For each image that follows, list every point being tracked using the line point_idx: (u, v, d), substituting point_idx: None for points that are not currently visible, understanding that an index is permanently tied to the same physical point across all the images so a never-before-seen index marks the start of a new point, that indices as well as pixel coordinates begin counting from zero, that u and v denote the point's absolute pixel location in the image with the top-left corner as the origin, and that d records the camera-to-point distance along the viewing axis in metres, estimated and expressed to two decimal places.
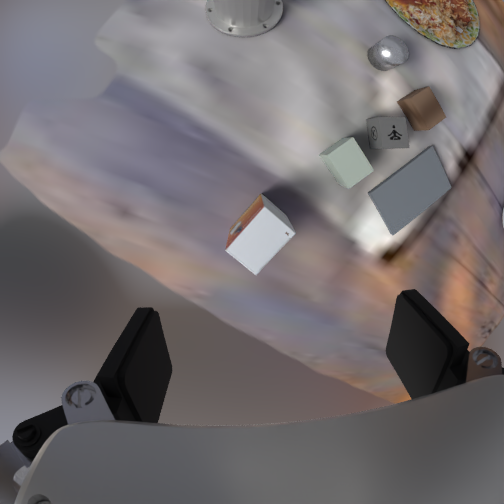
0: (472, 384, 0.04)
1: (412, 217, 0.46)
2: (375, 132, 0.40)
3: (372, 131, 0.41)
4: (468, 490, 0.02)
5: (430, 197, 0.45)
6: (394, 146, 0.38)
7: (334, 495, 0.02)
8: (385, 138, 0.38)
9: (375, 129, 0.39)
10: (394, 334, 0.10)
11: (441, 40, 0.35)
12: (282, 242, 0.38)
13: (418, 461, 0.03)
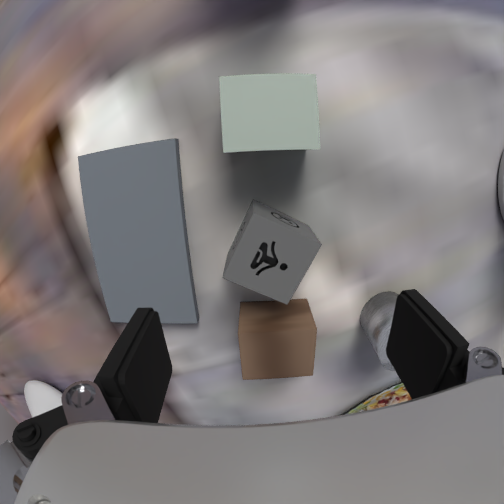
0: (472, 384, 0.04)
1: (88, 213, 0.22)
2: (287, 222, 0.21)
3: (288, 219, 0.22)
4: (468, 490, 0.02)
5: (107, 270, 0.24)
6: (243, 243, 0.19)
7: (334, 495, 0.02)
8: (271, 231, 0.19)
9: (293, 225, 0.20)
10: (393, 334, 0.10)
11: None
12: None
13: (418, 461, 0.03)
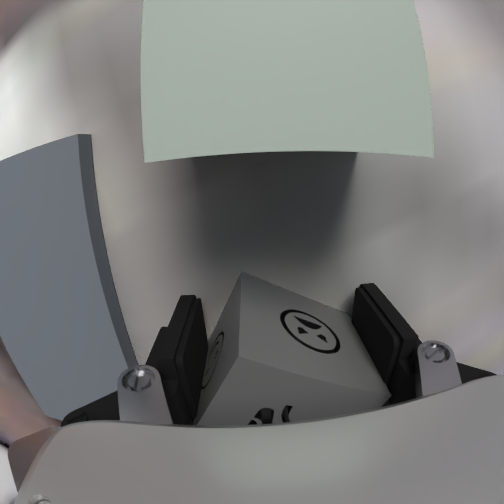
0: (472, 384, 0.04)
1: None
2: (317, 340, 0.09)
3: (315, 323, 0.10)
4: (468, 490, 0.02)
5: (21, 357, 0.12)
6: (217, 410, 0.07)
7: (334, 495, 0.02)
8: (285, 390, 0.07)
9: (331, 348, 0.09)
10: (354, 326, 0.11)
11: None
12: None
13: (418, 461, 0.03)
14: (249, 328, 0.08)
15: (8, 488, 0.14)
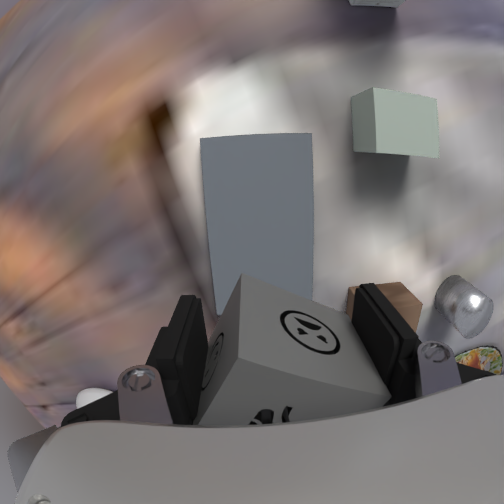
0: (472, 384, 0.04)
1: (209, 199, 0.24)
2: (316, 341, 0.09)
3: (315, 324, 0.10)
4: (468, 490, 0.02)
5: (224, 260, 0.25)
6: (217, 411, 0.07)
7: (334, 495, 0.02)
8: (284, 391, 0.07)
9: (331, 349, 0.09)
10: None
11: None
12: None
13: (418, 461, 0.03)
14: (249, 329, 0.08)
15: None
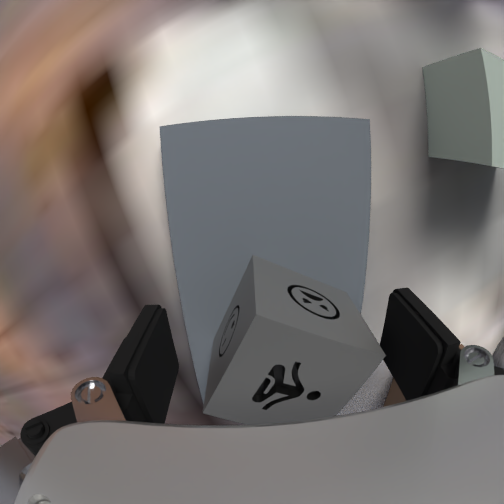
0: (472, 384, 0.04)
1: (180, 240, 0.13)
2: (319, 309, 0.10)
3: (317, 297, 0.12)
4: (468, 490, 0.02)
5: (211, 340, 0.14)
6: (237, 368, 0.09)
7: (334, 495, 0.02)
8: (294, 346, 0.09)
9: (331, 315, 0.10)
10: (387, 332, 0.10)
11: None
12: None
13: (418, 461, 0.03)
14: (263, 296, 0.10)
15: None
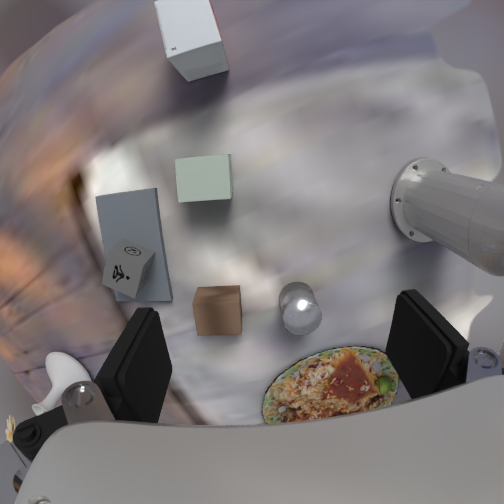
0: (472, 384, 0.04)
1: (103, 232, 0.37)
2: (132, 252, 0.35)
3: (136, 250, 0.36)
4: (468, 490, 0.02)
5: None
6: (107, 266, 0.33)
7: (334, 495, 0.02)
8: (118, 259, 0.33)
9: (134, 254, 0.35)
10: (393, 334, 0.10)
11: (281, 380, 0.47)
12: (167, 40, 0.21)
13: (418, 461, 0.03)
14: (114, 247, 0.34)
15: (62, 383, 0.41)
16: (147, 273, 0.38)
